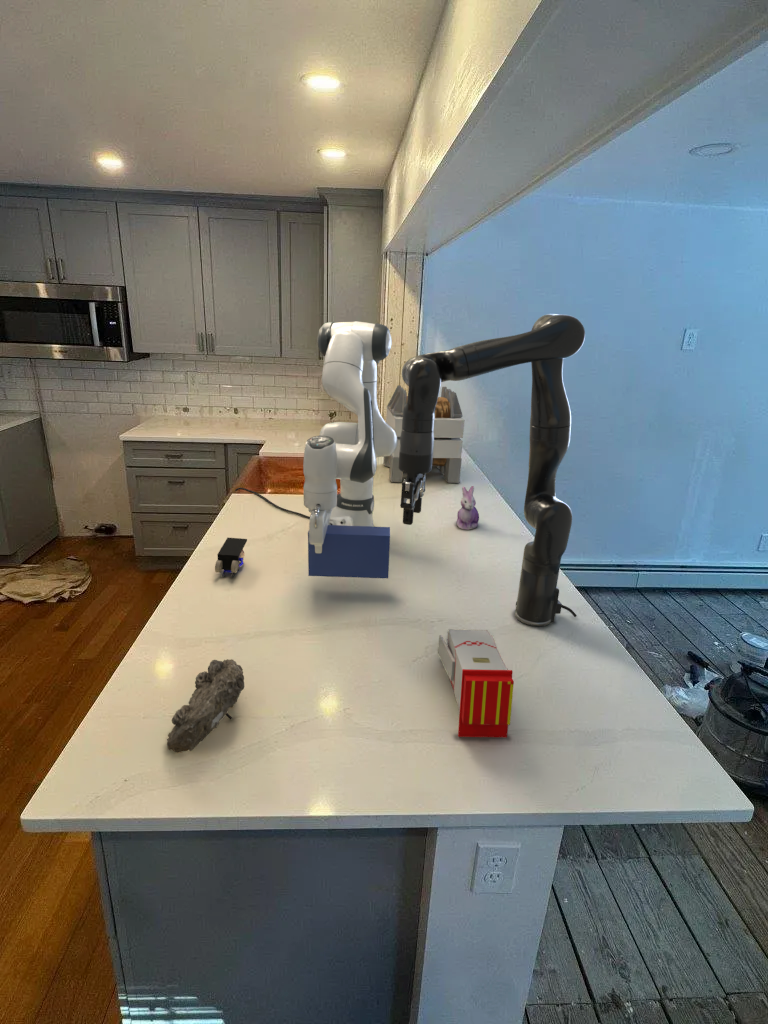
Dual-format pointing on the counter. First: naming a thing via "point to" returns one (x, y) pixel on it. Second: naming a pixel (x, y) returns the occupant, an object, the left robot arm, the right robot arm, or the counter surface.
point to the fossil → (206, 705)
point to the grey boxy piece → (445, 433)
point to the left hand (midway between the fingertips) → (320, 546)
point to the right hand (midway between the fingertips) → (412, 517)
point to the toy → (478, 682)
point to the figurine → (468, 510)
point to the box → (351, 552)
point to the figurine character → (230, 556)
